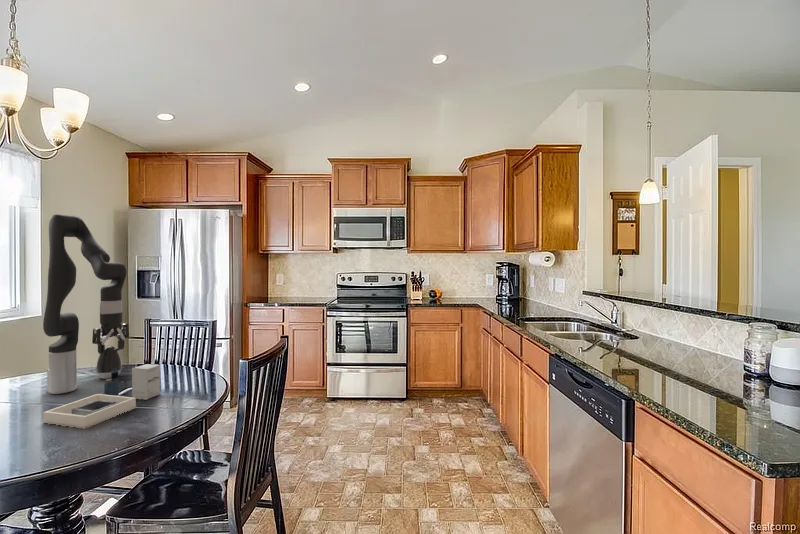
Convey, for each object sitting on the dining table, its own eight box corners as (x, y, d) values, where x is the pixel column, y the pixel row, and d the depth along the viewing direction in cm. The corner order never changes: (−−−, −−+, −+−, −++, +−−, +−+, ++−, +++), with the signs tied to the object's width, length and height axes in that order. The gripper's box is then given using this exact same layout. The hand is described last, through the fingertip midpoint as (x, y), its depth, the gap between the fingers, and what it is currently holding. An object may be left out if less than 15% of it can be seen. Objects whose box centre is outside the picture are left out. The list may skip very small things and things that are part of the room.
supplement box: (146, 400, 167) (146, 369, 167) (131, 398, 168) (131, 367, 168) (160, 394, 174) (160, 364, 174) (145, 393, 176) (145, 363, 175)
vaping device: (120, 397, 170) (120, 368, 170) (107, 401, 165) (107, 371, 165) (115, 396, 171) (115, 367, 171) (102, 400, 166) (102, 370, 166)
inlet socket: (71, 417, 146) (71, 409, 146) (98, 407, 156) (98, 399, 156) (94, 420, 144) (94, 411, 144) (119, 410, 154) (119, 402, 154)
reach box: (43, 423, 143) (43, 412, 143) (97, 403, 162) (97, 393, 162) (84, 429, 139) (84, 417, 138) (135, 408, 158) (135, 397, 158)
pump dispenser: (112, 380, 193) (112, 348, 192) (90, 380, 193) (90, 348, 192) (127, 374, 203) (127, 343, 202) (106, 374, 203) (106, 343, 203)
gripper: (119, 309, 175) (119, 347, 175) (86, 313, 161) (87, 354, 162) (133, 309, 173) (134, 348, 174) (102, 314, 160) (102, 356, 160)
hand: (111, 351), depth 168 cm, fingers open, 8 cm apart
